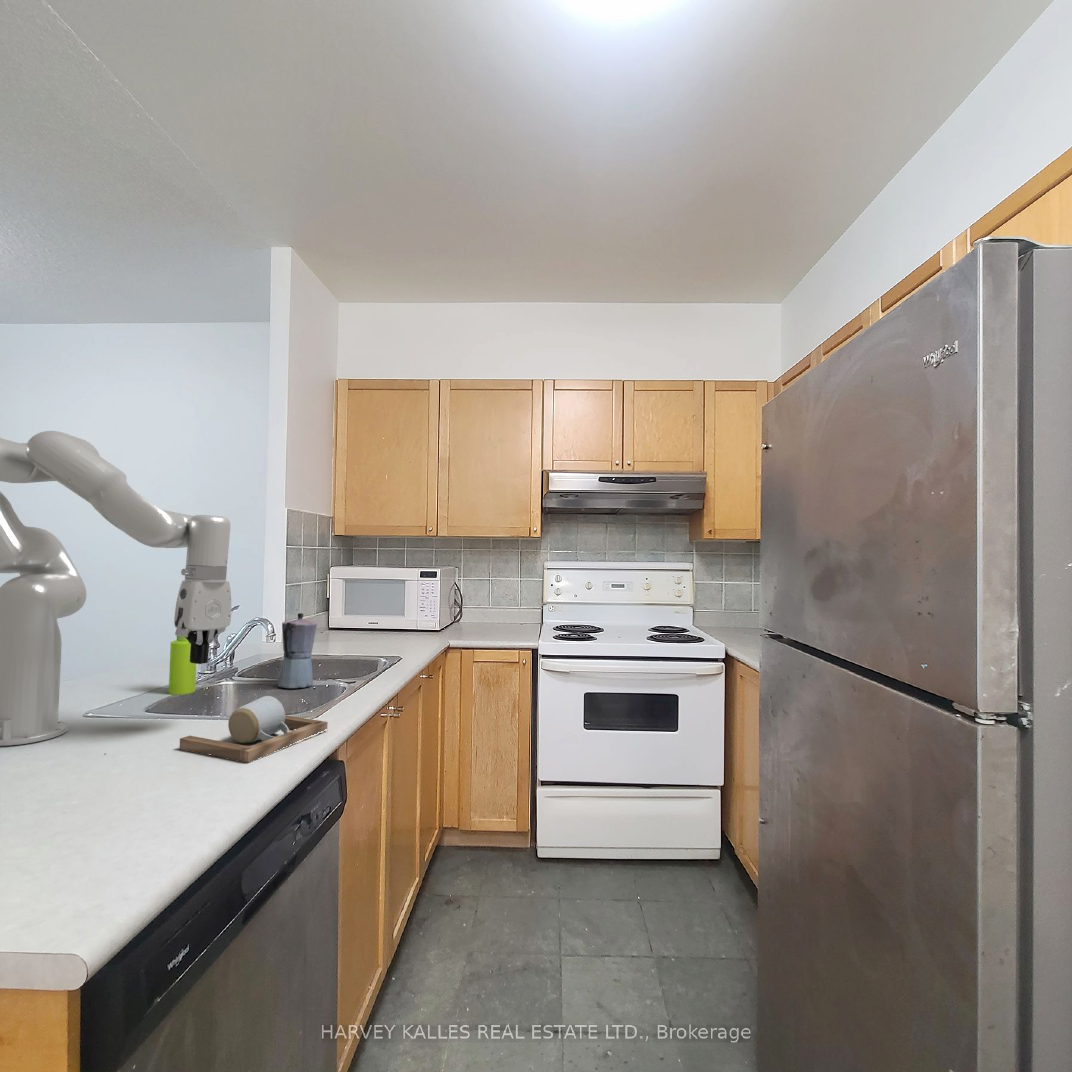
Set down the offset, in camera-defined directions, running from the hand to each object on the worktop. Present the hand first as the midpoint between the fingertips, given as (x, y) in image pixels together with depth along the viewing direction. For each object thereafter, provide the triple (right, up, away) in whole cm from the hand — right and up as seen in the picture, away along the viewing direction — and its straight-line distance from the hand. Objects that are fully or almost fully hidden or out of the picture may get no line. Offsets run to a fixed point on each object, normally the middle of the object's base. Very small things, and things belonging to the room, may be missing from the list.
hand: (198, 662), depth 120 cm
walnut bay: (+15, -14, -6) cm, 21 cm away
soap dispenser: (-22, -15, +31) cm, 40 cm away
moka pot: (+4, -15, +39) cm, 42 cm away
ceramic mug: (+16, -14, -5) cm, 22 cm away
